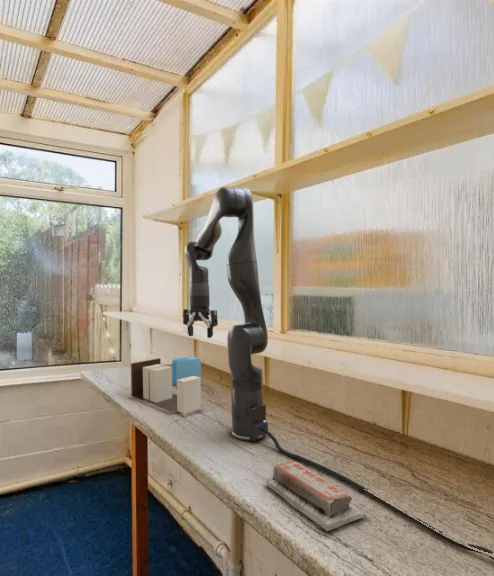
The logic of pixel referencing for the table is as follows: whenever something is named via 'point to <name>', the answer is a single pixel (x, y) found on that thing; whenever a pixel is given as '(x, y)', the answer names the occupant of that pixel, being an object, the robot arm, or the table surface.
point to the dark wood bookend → (138, 385)
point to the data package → (185, 368)
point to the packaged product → (313, 496)
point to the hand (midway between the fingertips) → (200, 336)
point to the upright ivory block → (188, 394)
